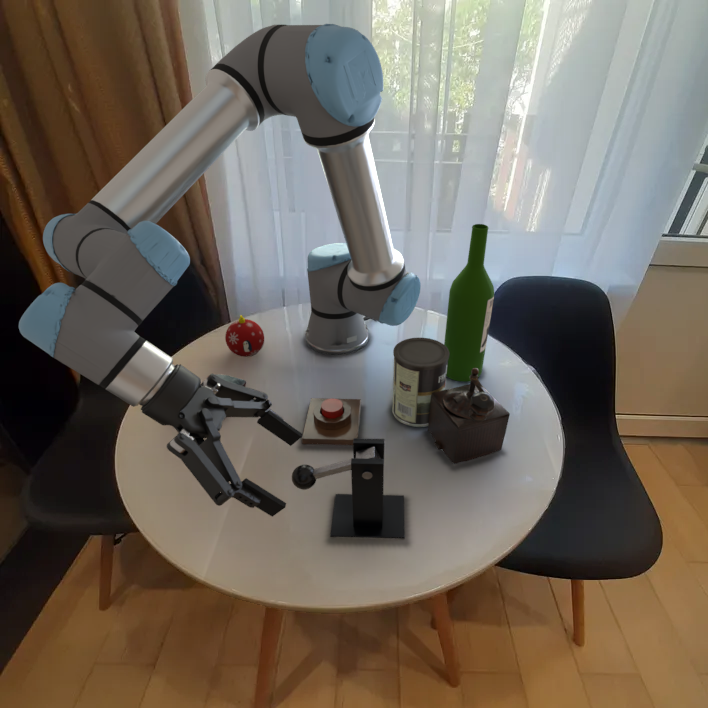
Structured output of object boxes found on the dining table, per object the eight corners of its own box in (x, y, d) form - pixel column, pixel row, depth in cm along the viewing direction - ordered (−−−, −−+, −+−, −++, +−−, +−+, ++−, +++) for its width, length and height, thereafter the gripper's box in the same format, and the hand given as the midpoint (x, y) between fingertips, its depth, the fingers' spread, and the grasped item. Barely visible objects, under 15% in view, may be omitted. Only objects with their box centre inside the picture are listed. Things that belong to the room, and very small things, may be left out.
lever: (296, 497, 70) (285, 481, 68) (300, 478, 73) (289, 462, 71) (381, 475, 67) (372, 457, 65) (382, 457, 70) (373, 439, 68)
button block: (311, 406, 98) (310, 390, 96) (361, 407, 98) (360, 391, 96) (302, 447, 88) (300, 431, 86) (357, 449, 88) (356, 432, 86)
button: (323, 405, 93) (322, 398, 92) (343, 405, 93) (343, 398, 92) (320, 418, 89) (319, 411, 88) (342, 419, 89) (341, 412, 88)
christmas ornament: (265, 342, 118) (259, 305, 112) (267, 361, 111) (262, 322, 105) (228, 346, 116) (221, 309, 110) (229, 366, 109) (220, 327, 103)
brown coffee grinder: (422, 432, 92) (429, 352, 82) (472, 418, 96) (485, 340, 85) (464, 490, 81) (477, 406, 70) (519, 472, 84) (540, 389, 74)
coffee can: (445, 398, 101) (451, 340, 92) (439, 431, 93) (446, 370, 84) (396, 392, 102) (398, 334, 94) (387, 423, 94) (388, 362, 86)
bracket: (330, 540, 72) (324, 470, 64) (335, 498, 79) (331, 430, 70) (404, 542, 72) (408, 472, 64) (403, 500, 79) (407, 432, 70)
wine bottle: (481, 384, 105) (505, 236, 86) (440, 379, 106) (454, 232, 87) (482, 361, 112) (504, 220, 93) (443, 357, 113) (457, 217, 94)
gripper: (177, 349, 72) (287, 428, 81) (93, 472, 52) (251, 559, 61) (205, 319, 69) (317, 404, 78) (127, 437, 49) (289, 534, 58)
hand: (288, 472), depth 70 cm, fingers open, 13 cm apart
